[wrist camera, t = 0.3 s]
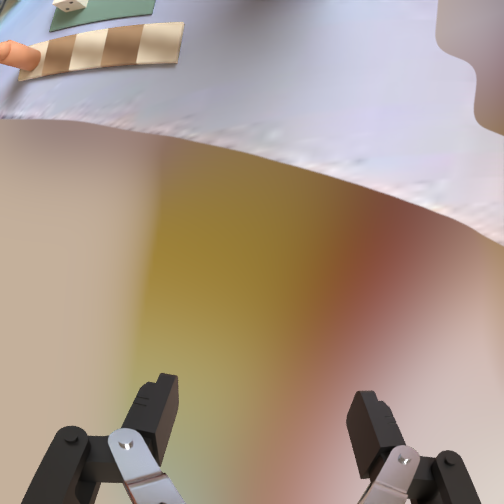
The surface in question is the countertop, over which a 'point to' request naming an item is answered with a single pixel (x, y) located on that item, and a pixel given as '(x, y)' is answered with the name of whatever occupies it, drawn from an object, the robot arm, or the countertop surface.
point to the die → (70, 4)
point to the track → (108, 49)
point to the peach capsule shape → (19, 55)
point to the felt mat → (101, 12)
